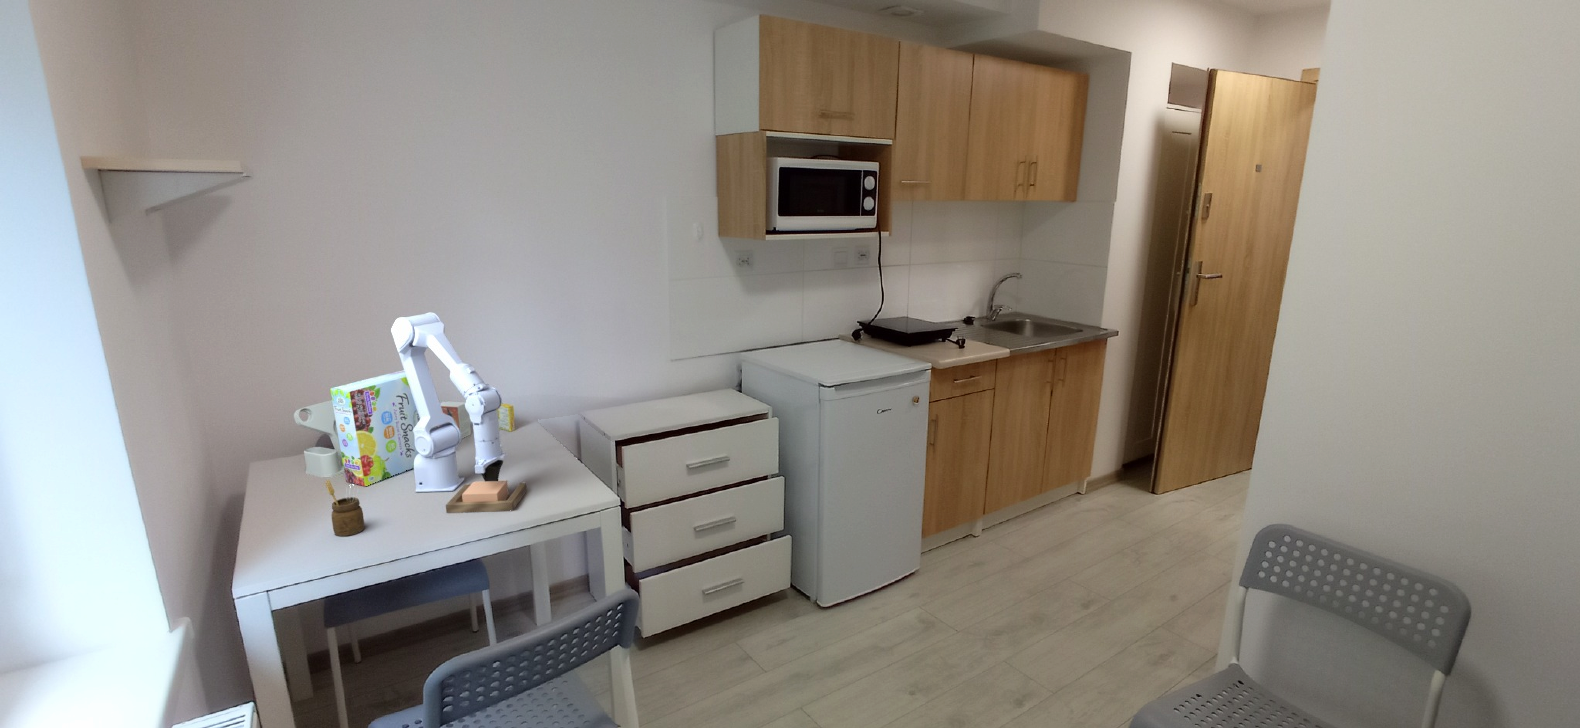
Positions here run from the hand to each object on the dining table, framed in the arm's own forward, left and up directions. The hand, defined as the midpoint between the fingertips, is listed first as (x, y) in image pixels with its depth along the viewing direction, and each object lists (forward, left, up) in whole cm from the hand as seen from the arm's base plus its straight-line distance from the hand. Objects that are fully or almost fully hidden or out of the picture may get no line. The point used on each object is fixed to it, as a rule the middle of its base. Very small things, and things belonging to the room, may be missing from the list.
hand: (492, 490), depth 181 cm
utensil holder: (-25, -18, -2) cm, 31 cm away
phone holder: (-47, +25, -2) cm, 54 cm away
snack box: (-32, +19, -2) cm, 38 cm away
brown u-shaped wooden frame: (0, -3, -1) cm, 3 cm away
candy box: (-16, +57, -2) cm, 60 cm away
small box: (-26, +48, -2) cm, 55 cm away
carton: (0, -4, -2) cm, 5 cm away
